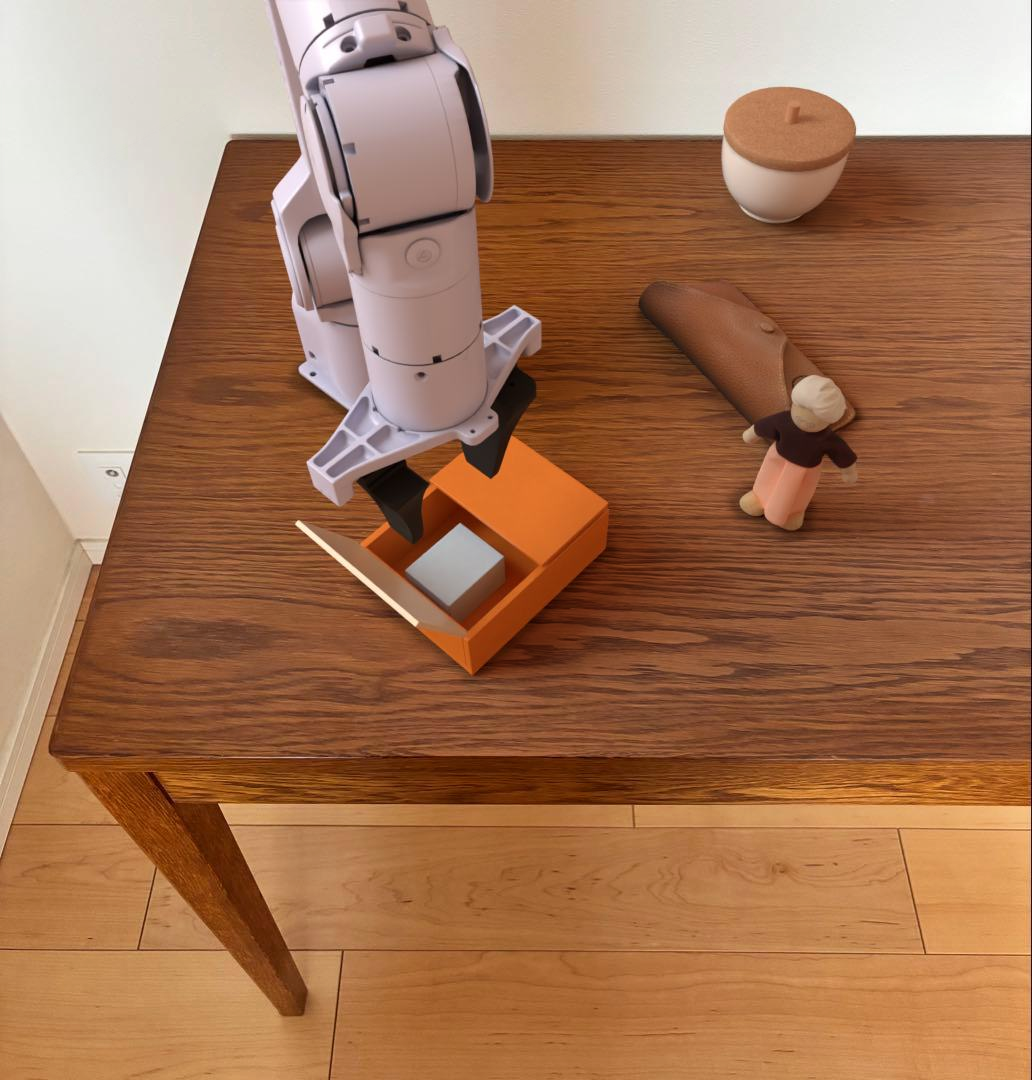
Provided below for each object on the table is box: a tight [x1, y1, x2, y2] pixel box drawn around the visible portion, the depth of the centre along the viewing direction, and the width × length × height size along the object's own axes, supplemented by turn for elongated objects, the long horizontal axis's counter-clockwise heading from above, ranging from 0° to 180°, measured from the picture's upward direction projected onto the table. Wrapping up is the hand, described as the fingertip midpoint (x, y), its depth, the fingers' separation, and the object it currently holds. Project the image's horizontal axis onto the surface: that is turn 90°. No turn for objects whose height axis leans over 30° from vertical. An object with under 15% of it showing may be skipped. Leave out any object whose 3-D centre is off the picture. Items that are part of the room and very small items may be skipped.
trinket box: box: [720, 86, 857, 224], centre depth 84 cm, size 11×11×9 cm
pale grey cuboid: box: [405, 523, 506, 624], centre depth 64 cm, size 5×4×3 cm
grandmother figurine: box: [739, 375, 859, 531], centre depth 63 cm, size 8×4×13 cm, turn 70°
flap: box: [294, 519, 467, 638], centre depth 57 cm, size 6×10×1 cm
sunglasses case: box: [637, 278, 857, 448], centre depth 75 cm, size 18×7×7 cm
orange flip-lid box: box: [359, 434, 610, 676], centre depth 64 cm, size 13×10×5 cm
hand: (444, 498), depth 57 cm, fingers open, 6 cm apart
